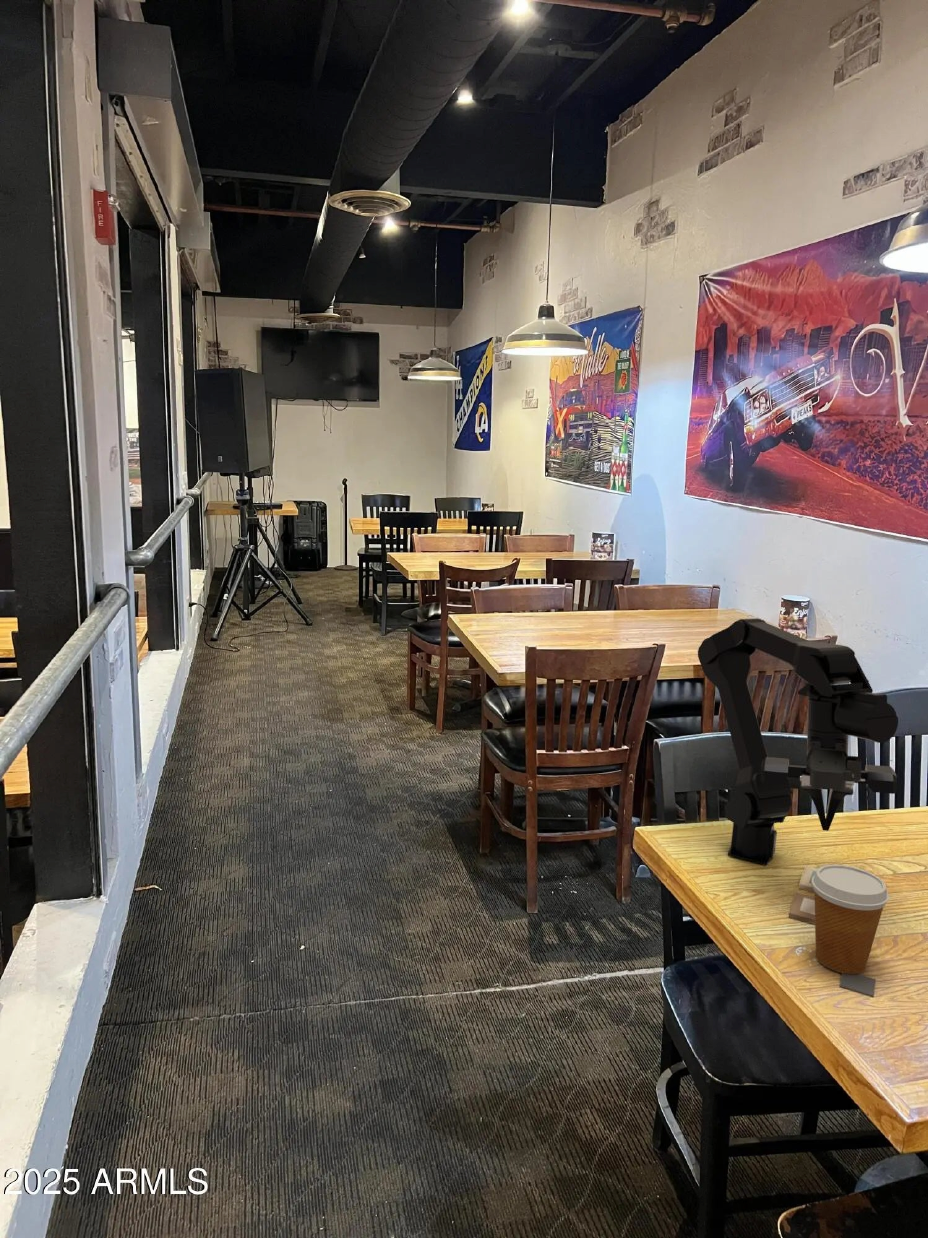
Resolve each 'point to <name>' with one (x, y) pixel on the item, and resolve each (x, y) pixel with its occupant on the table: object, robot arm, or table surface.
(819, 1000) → the table surface
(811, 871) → the birch marker tile
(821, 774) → the robot arm
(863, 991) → the black coaster
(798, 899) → the walnut marker tile
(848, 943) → the disposable coffee cup
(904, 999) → the table surface
